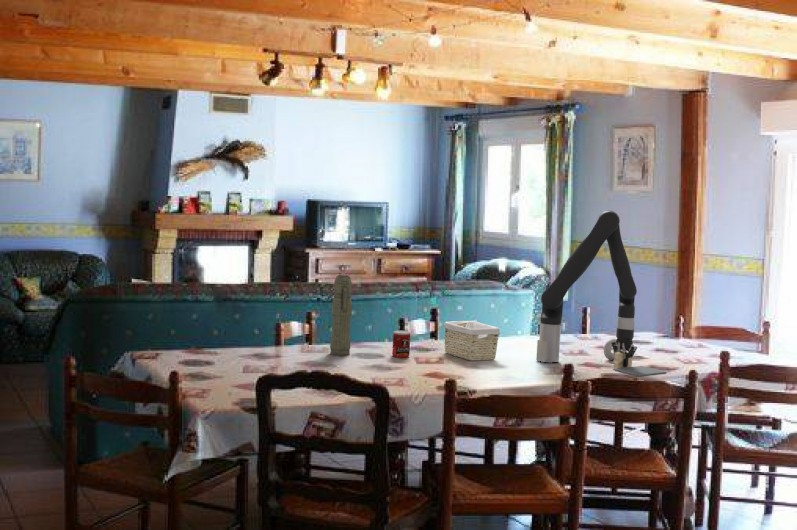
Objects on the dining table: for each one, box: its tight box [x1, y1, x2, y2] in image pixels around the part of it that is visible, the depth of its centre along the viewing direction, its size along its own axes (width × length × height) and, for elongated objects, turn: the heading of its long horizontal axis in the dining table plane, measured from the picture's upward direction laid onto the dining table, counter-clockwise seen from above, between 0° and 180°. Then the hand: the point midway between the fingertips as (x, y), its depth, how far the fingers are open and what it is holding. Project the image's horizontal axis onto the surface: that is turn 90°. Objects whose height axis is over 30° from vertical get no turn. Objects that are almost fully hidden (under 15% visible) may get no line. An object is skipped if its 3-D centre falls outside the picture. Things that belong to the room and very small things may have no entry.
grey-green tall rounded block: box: [329, 274, 353, 357], centre depth 437 cm, size 9×12×35 cm
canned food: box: [391, 330, 411, 359], centre depth 439 cm, size 8×8×11 cm
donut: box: [603, 338, 617, 361], centre depth 456 cm, size 10×4×10 cm, turn 125°
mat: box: [612, 365, 667, 377], centre depth 430 cm, size 18×14×1 cm
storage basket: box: [443, 320, 501, 362], centre depth 448 cm, size 24×16×15 cm
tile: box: [613, 352, 633, 369], centre depth 437 cm, size 9×2×7 cm, turn 124°
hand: (622, 366), depth 437 cm, fingers closed on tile, 2 cm apart
